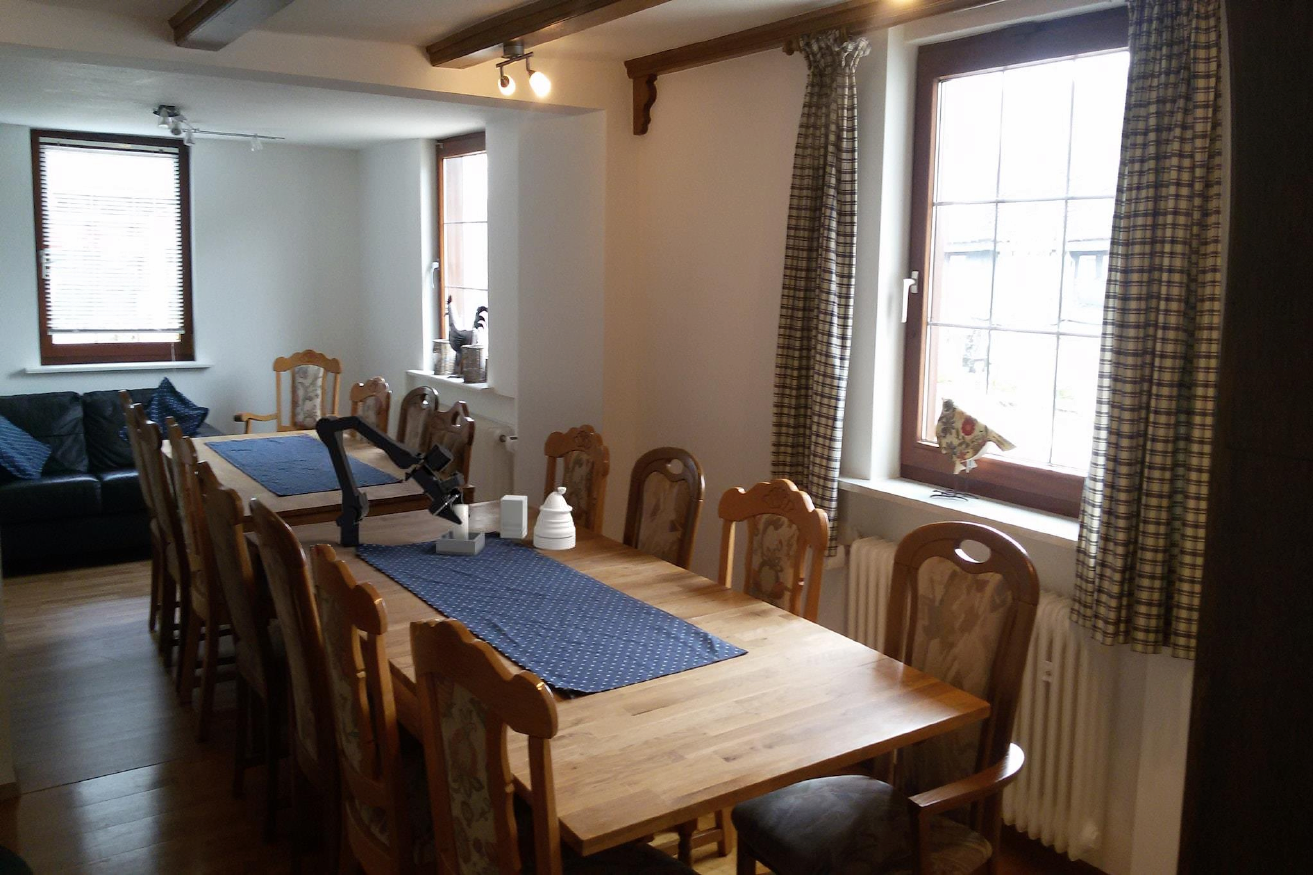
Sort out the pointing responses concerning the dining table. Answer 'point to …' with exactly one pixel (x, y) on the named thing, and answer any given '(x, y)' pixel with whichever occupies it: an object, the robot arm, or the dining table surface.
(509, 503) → the supplement box
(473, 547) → the grey crate
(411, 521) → the dining table surface
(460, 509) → the ceramic pillar
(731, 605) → the dining table surface
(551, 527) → the honey pot
